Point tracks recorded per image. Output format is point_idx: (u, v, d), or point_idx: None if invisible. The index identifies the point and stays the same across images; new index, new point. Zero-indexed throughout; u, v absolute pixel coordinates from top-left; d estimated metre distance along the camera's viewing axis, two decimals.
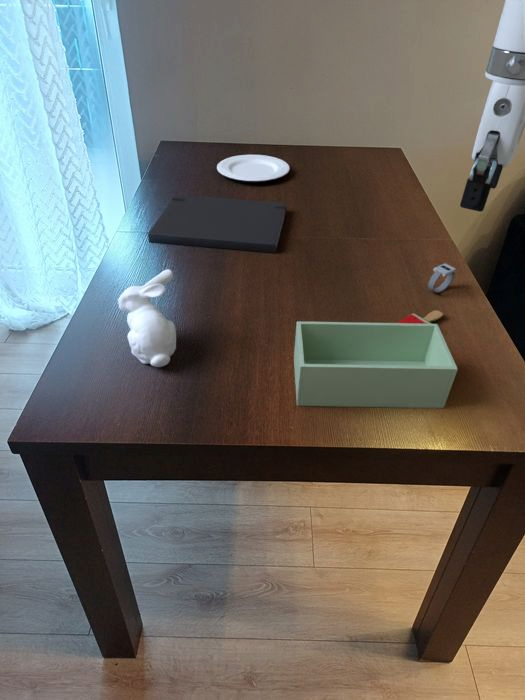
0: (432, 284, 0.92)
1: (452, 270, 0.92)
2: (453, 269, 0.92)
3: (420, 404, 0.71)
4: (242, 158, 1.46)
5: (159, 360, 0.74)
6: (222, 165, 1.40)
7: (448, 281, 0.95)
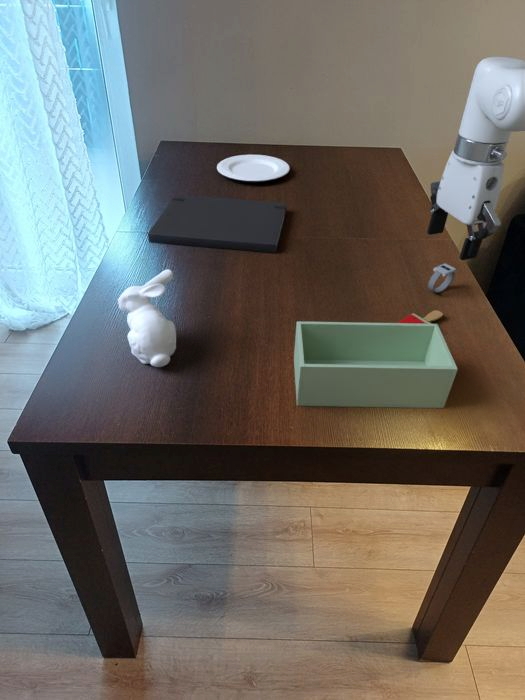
0: (432, 284, 0.92)
1: (452, 270, 0.92)
2: (453, 269, 0.92)
3: (420, 404, 0.71)
4: (242, 158, 1.46)
5: (159, 360, 0.74)
6: (222, 165, 1.40)
7: (448, 281, 0.95)
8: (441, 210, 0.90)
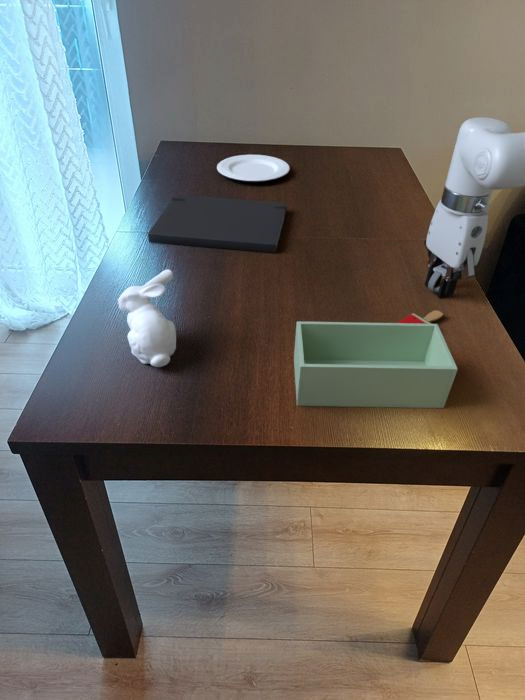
0: (432, 284, 0.92)
1: None
2: None
3: (420, 404, 0.71)
4: (242, 158, 1.46)
5: (159, 360, 0.74)
6: (222, 165, 1.40)
7: None
8: (438, 264, 0.94)
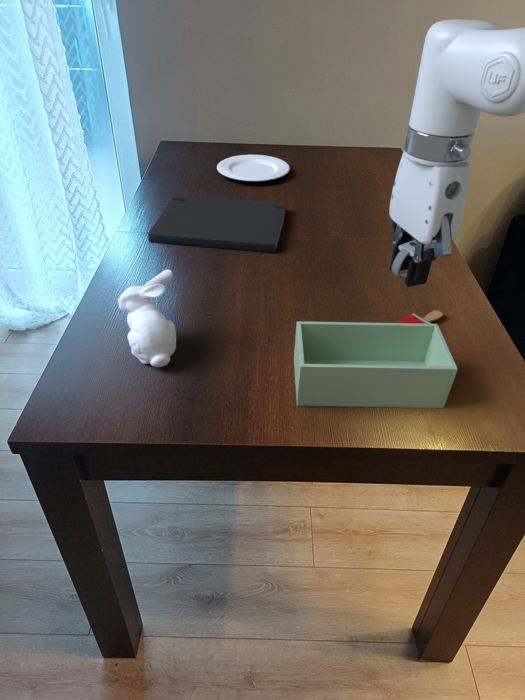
0: (397, 267, 0.68)
1: (424, 248, 0.67)
2: (425, 247, 0.67)
3: (420, 404, 0.71)
4: (242, 158, 1.46)
5: (159, 360, 0.74)
6: (222, 165, 1.40)
7: None
8: (406, 241, 0.69)
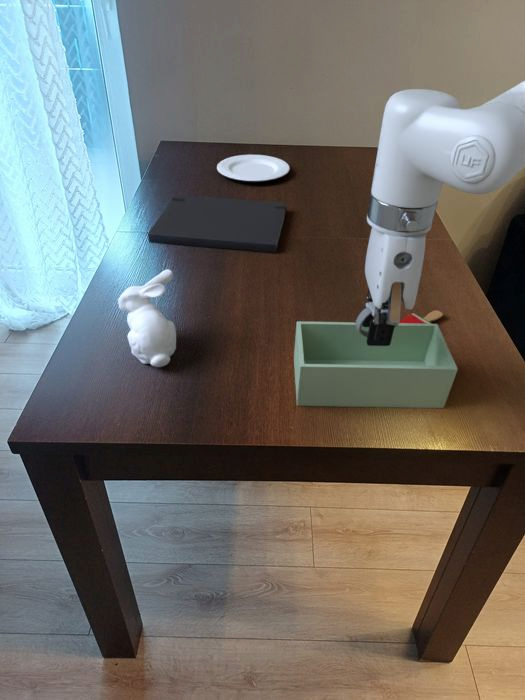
0: (358, 324, 0.66)
1: None
2: None
3: (420, 404, 0.71)
4: (242, 158, 1.46)
5: (159, 360, 0.74)
6: (222, 165, 1.40)
7: None
8: None
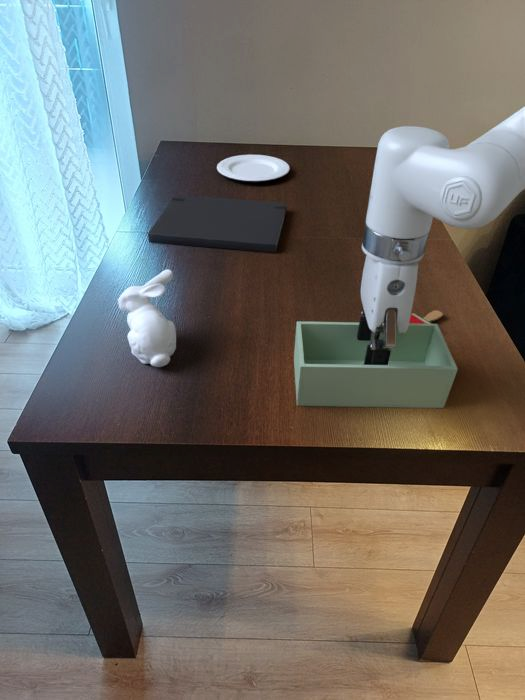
0: None
1: None
2: None
3: (420, 404, 0.71)
4: (242, 158, 1.46)
5: (159, 360, 0.74)
6: (222, 165, 1.40)
7: None
8: None
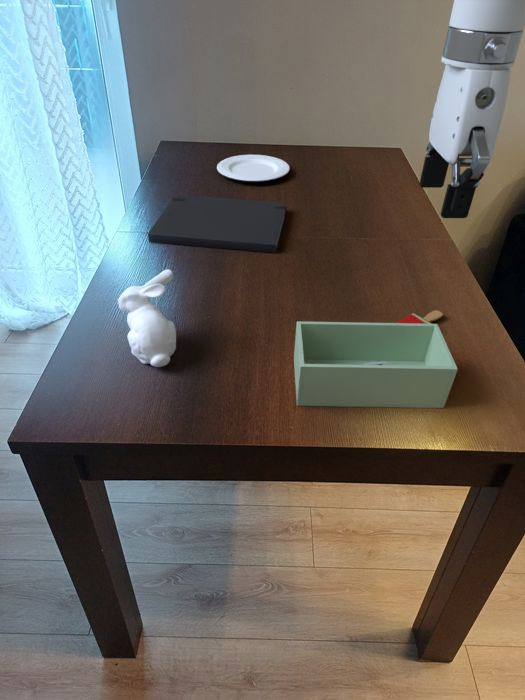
0: None
1: None
2: None
3: (420, 404, 0.71)
4: (242, 158, 1.46)
5: (159, 360, 0.74)
6: (222, 165, 1.40)
7: None
8: (439, 152, 0.65)
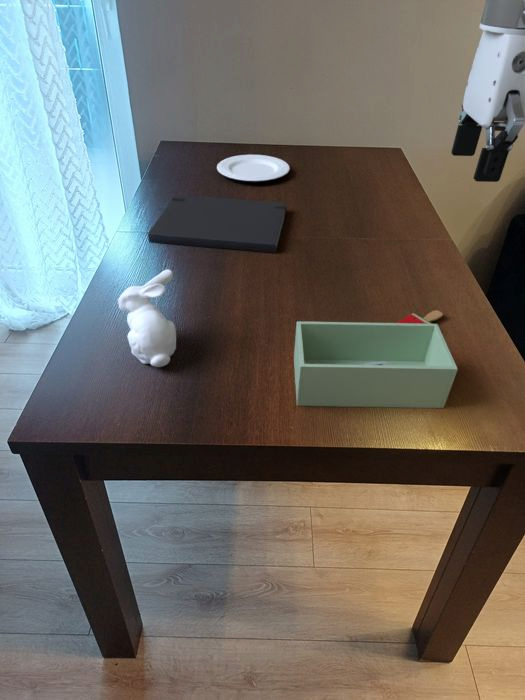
0: None
1: None
2: None
3: (420, 404, 0.71)
4: (242, 158, 1.46)
5: (159, 360, 0.74)
6: (222, 165, 1.40)
7: None
8: (472, 121, 0.67)
